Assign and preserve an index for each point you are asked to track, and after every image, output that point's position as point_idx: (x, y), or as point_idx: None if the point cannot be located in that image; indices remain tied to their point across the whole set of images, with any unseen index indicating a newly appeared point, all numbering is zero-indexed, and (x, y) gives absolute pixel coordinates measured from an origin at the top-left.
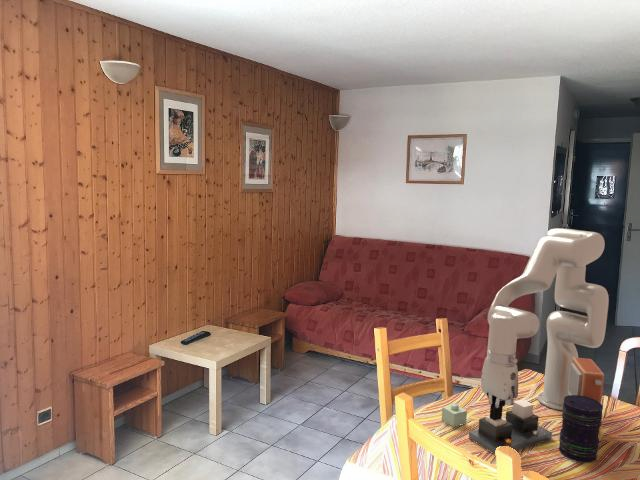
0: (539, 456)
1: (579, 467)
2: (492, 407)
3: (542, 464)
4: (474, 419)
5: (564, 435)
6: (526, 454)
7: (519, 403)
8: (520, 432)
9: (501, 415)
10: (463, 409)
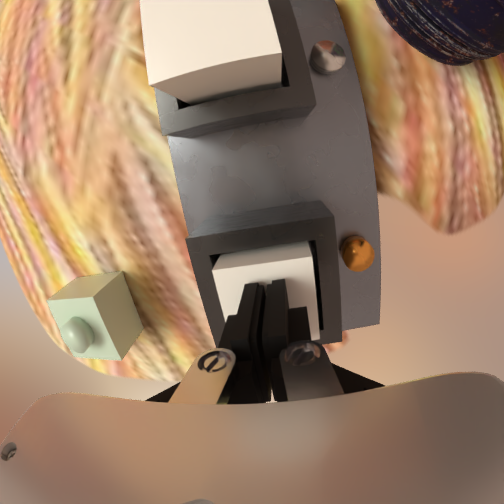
0: (428, 152)
1: (497, 88)
2: (269, 397)
3: (464, 187)
4: (96, 216)
5: (476, 35)
6: (403, 190)
7: (196, 46)
8: (294, 118)
9: (307, 312)
10: (83, 303)
